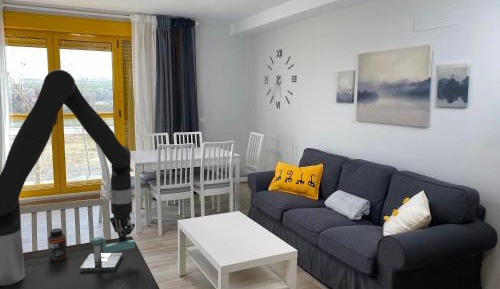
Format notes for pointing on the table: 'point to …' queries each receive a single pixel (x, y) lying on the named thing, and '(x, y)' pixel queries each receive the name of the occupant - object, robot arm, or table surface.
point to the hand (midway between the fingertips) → (122, 244)
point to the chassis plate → (101, 261)
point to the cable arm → (113, 245)
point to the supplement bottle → (57, 245)
